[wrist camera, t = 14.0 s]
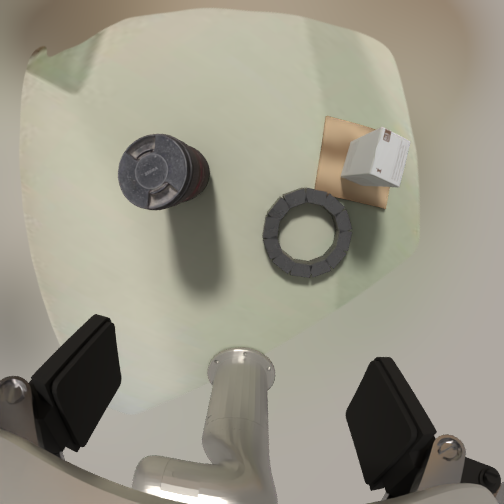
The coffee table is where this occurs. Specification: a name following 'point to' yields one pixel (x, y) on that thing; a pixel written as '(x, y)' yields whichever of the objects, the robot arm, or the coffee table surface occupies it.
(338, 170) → the pad
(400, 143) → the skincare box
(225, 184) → the coffee table surface
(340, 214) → the collar
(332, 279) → the coffee table surface
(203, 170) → the camera lens
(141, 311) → the coffee table surface
